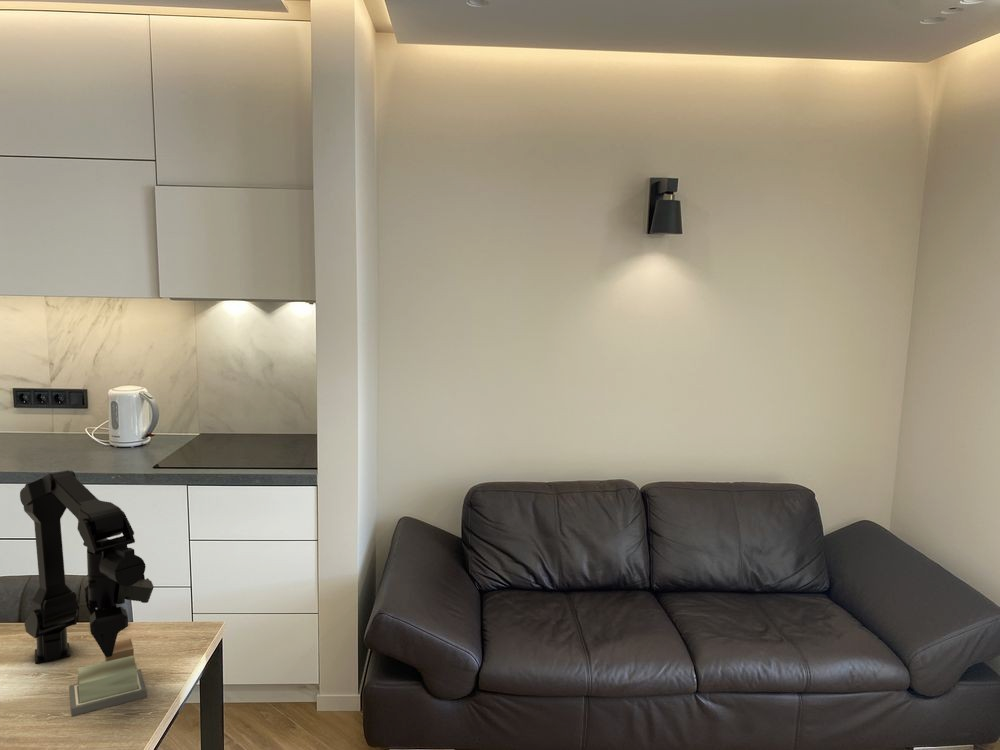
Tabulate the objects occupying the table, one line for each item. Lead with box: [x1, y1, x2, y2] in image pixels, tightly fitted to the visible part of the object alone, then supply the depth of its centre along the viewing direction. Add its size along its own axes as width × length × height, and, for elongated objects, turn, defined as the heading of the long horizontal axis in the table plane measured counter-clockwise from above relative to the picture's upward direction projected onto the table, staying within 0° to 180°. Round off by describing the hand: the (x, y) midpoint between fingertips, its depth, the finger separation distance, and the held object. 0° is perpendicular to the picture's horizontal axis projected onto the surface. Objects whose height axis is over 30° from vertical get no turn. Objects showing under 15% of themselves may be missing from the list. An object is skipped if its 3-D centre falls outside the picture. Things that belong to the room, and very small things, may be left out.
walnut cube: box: [104, 638, 135, 662], centre depth 153 cm, size 5×5×5 cm
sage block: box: [77, 655, 138, 703], centre depth 143 cm, size 6×10×4 cm, turn 123°
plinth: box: [68, 668, 148, 717], centre depth 143 cm, size 9×13×2 cm
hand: (106, 646), depth 142 cm, fingers open, 9 cm apart
